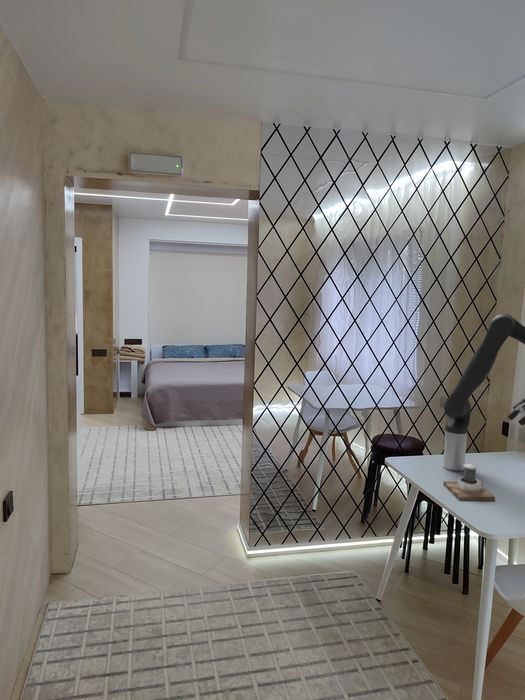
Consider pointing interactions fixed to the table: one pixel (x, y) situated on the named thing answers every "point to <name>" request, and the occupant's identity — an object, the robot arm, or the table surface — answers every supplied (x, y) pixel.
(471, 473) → the white capped grey cylinder
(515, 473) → the table surface
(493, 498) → the mount board
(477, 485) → the faceted white ring
